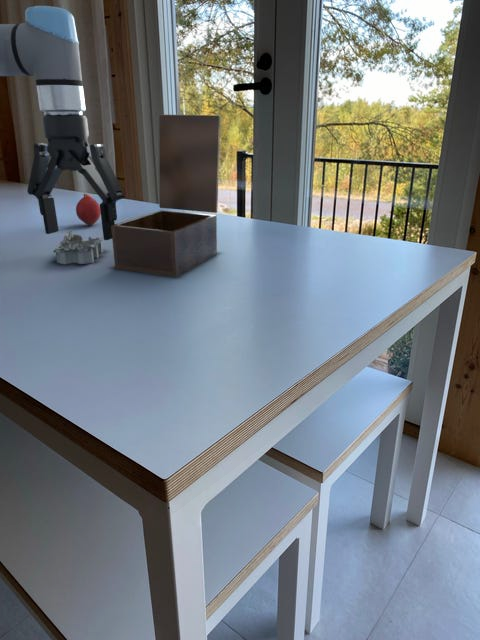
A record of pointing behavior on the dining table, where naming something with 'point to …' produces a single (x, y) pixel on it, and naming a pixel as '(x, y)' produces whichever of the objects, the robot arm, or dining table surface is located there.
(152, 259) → the chest
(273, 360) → the dining table surface
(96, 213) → the onion
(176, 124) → the chest lid
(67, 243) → the egg carton
